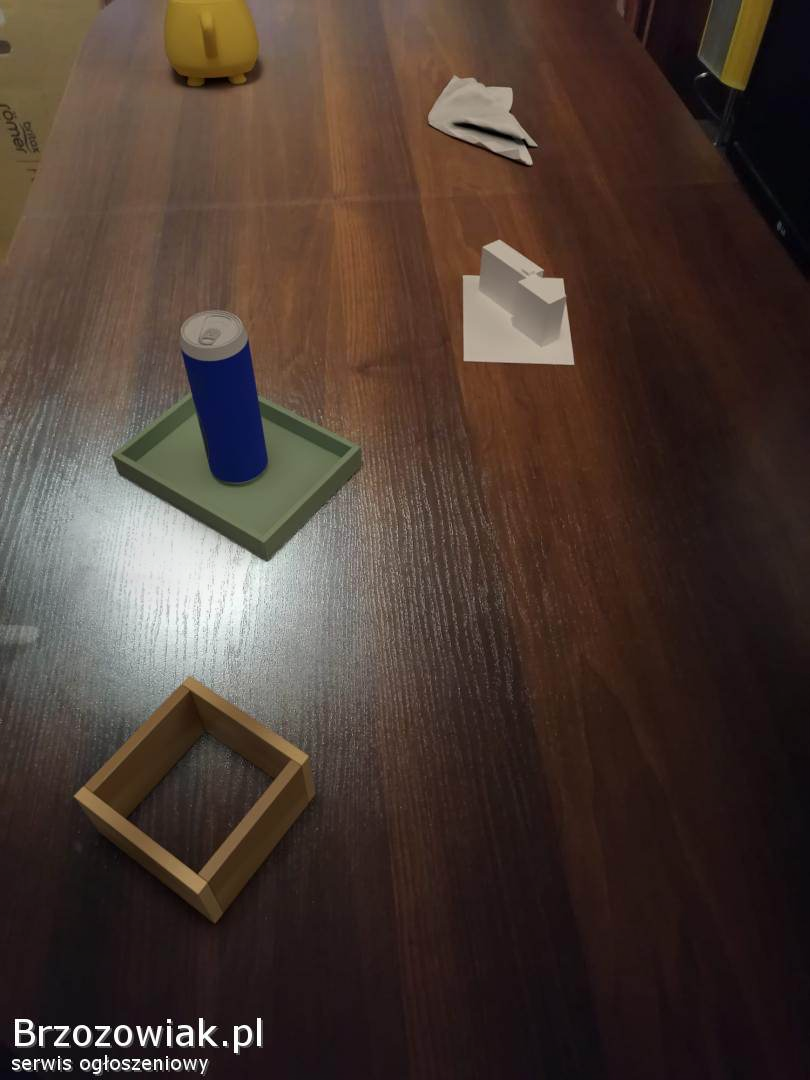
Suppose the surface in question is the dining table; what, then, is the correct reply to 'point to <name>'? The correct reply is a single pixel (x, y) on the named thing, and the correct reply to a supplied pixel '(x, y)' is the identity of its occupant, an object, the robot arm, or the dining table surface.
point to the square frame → (153, 758)
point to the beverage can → (224, 395)
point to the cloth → (481, 118)
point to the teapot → (210, 39)
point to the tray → (250, 508)
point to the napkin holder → (514, 311)
